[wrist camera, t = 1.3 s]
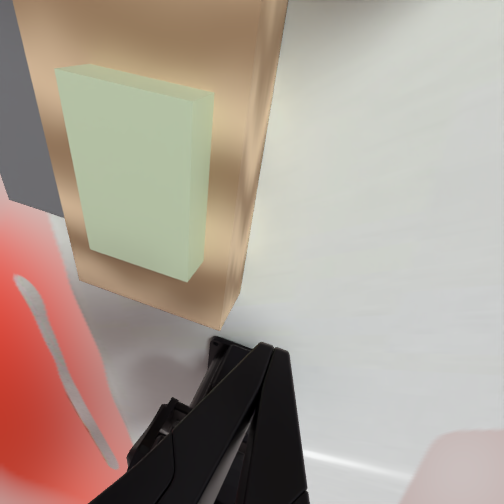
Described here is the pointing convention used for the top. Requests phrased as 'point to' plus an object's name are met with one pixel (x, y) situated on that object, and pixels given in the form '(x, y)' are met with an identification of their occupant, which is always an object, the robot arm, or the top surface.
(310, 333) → the top surface
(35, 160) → the mat
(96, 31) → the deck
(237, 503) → the robot arm
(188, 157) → the pale green foam block
